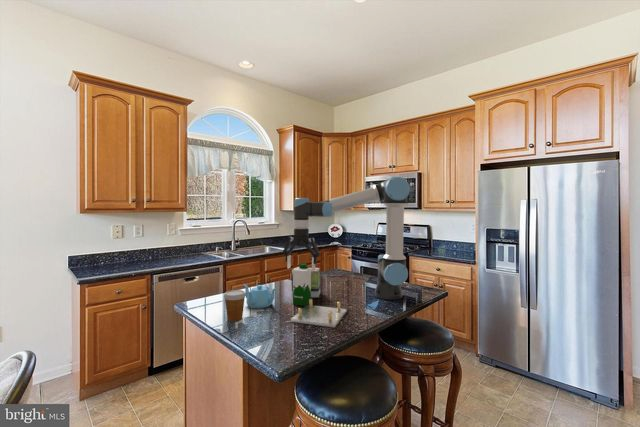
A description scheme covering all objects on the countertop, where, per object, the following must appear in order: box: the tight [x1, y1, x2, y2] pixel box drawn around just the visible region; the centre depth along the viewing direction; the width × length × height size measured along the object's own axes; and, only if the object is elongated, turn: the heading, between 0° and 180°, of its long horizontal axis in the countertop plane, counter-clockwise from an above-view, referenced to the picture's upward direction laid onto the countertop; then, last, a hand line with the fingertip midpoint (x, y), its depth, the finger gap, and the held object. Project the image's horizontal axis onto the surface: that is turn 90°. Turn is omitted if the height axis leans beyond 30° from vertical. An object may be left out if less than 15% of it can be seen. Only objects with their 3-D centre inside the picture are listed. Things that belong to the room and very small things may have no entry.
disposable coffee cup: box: [223, 289, 246, 322], centre depth 142 cm, size 10×10×12 cm
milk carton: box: [291, 262, 312, 307], centre depth 163 cm, size 9×9×20 cm
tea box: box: [290, 267, 321, 298], centre depth 178 cm, size 15×10×15 cm, turn 84°
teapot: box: [243, 283, 278, 310], centre depth 160 cm, size 15×15×10 cm
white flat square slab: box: [290, 298, 347, 328], centre depth 145 cm, size 20×20×5 cm
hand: (301, 269), depth 163 cm, fingers open, 13 cm apart
